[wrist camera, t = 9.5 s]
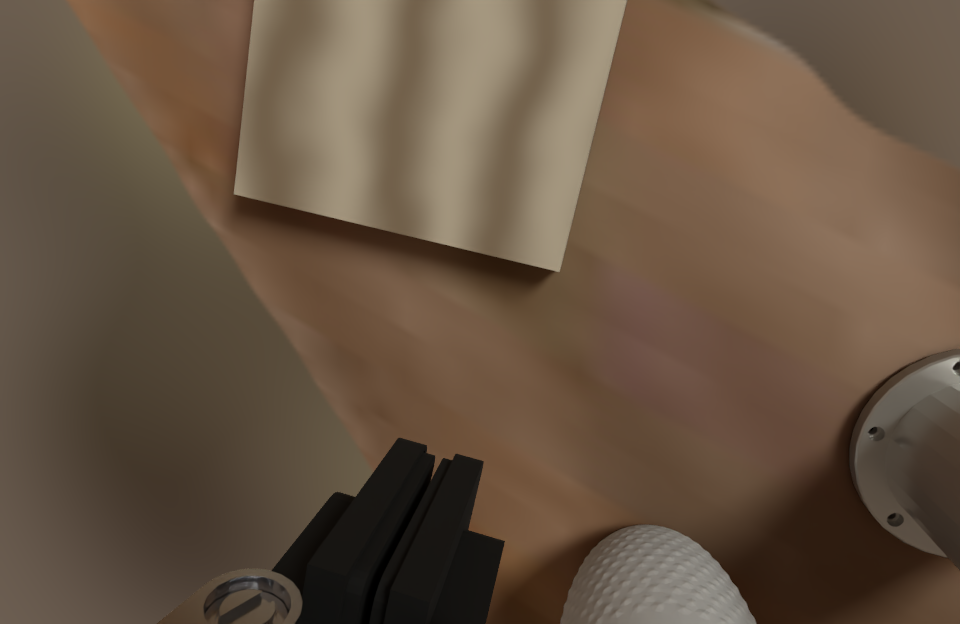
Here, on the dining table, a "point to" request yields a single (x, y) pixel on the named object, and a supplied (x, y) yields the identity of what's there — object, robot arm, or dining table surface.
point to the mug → (652, 583)
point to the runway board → (429, 115)
